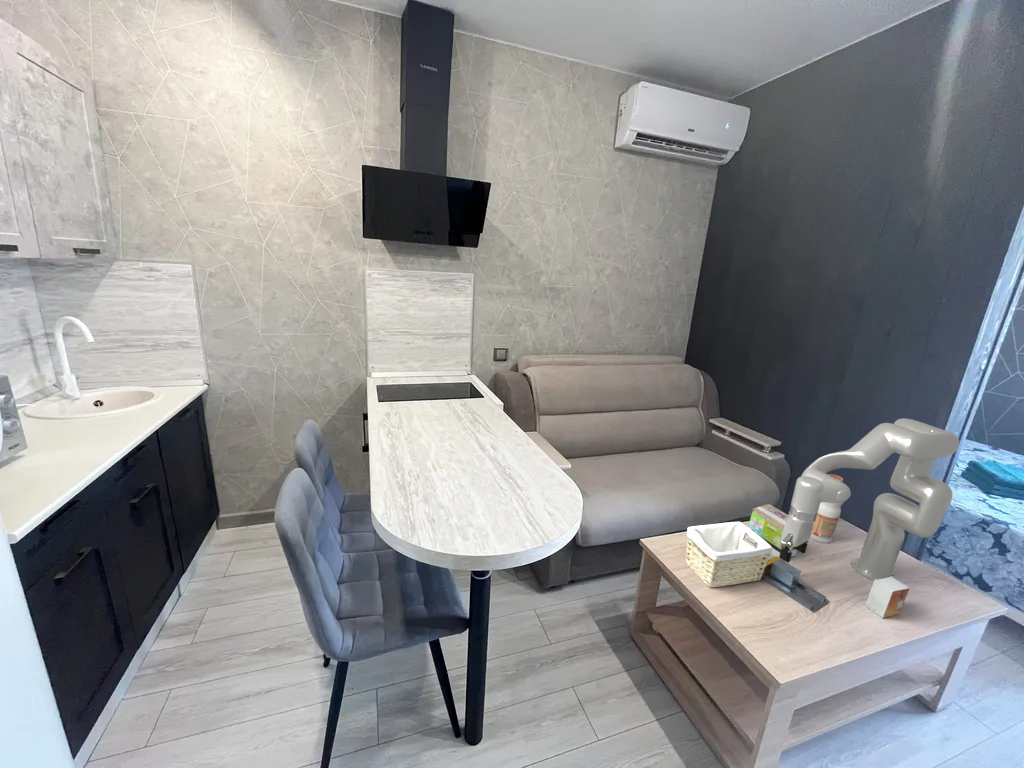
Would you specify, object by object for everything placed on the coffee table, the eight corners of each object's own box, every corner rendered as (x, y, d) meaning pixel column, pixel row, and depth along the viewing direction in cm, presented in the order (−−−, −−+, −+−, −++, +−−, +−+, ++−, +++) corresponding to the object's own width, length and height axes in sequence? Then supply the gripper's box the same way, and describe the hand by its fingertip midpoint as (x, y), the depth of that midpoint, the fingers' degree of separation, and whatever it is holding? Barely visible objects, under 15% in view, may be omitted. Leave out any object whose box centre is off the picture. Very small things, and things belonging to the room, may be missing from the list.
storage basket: (707, 591, 142) (715, 554, 138) (678, 559, 157) (685, 525, 153) (765, 583, 148) (775, 547, 144) (732, 553, 163) (740, 519, 159)
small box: (882, 618, 135) (892, 591, 132) (864, 605, 140) (873, 579, 137) (900, 614, 137) (910, 588, 134) (881, 601, 142) (891, 575, 139)
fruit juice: (800, 533, 178) (817, 474, 170) (810, 527, 183) (828, 469, 175) (825, 546, 170) (844, 484, 163) (835, 539, 175) (854, 479, 168)
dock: (773, 567, 156) (776, 555, 154) (828, 602, 141) (832, 589, 139) (757, 575, 151) (760, 563, 150) (813, 612, 136) (817, 599, 134)
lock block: (776, 573, 152) (780, 559, 151) (797, 585, 147) (801, 571, 145) (768, 577, 150) (772, 563, 148) (789, 590, 144) (793, 576, 143)
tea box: (744, 538, 172) (752, 507, 168) (760, 533, 176) (768, 502, 172) (779, 562, 159) (789, 528, 155) (796, 556, 163) (806, 523, 159)
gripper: (804, 500, 148) (794, 541, 153) (777, 513, 140) (766, 557, 145) (828, 511, 142) (816, 554, 147) (801, 525, 133) (789, 570, 138)
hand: (792, 555), depth 146 cm, fingers open, 9 cm apart
